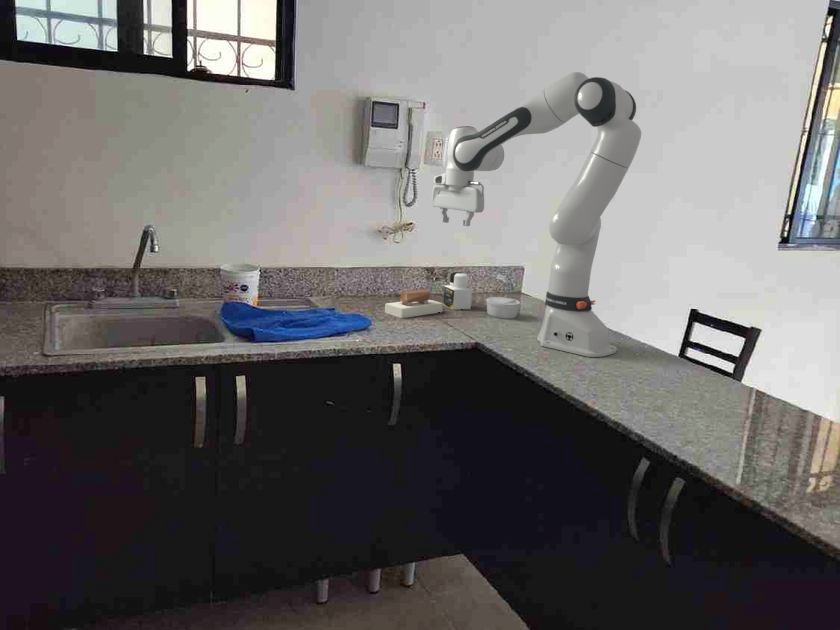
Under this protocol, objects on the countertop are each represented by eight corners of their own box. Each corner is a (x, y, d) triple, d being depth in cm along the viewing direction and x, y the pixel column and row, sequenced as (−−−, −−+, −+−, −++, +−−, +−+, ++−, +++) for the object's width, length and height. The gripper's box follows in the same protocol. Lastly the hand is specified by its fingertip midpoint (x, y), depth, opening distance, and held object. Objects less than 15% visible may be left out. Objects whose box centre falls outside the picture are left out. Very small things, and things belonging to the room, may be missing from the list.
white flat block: (442, 312, 219) (442, 303, 218) (401, 318, 207) (401, 308, 206) (425, 307, 225) (426, 298, 224) (384, 312, 213) (385, 303, 212)
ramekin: (520, 321, 215) (522, 305, 214) (486, 318, 215) (487, 302, 214) (516, 313, 226) (518, 298, 224) (483, 311, 226) (485, 295, 225)
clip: (428, 311, 218) (429, 291, 217) (405, 315, 211) (407, 293, 210) (422, 310, 220) (423, 289, 219) (399, 313, 213) (400, 291, 212)
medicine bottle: (442, 305, 230) (445, 271, 227) (460, 304, 233) (463, 271, 230) (452, 310, 223) (455, 274, 221) (470, 309, 226) (473, 274, 224)
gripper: (490, 182, 204) (486, 227, 207) (443, 178, 218) (440, 220, 221) (476, 182, 199) (472, 228, 202) (429, 177, 214) (426, 220, 217)
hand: (455, 224), depth 212 cm, fingers open, 8 cm apart
